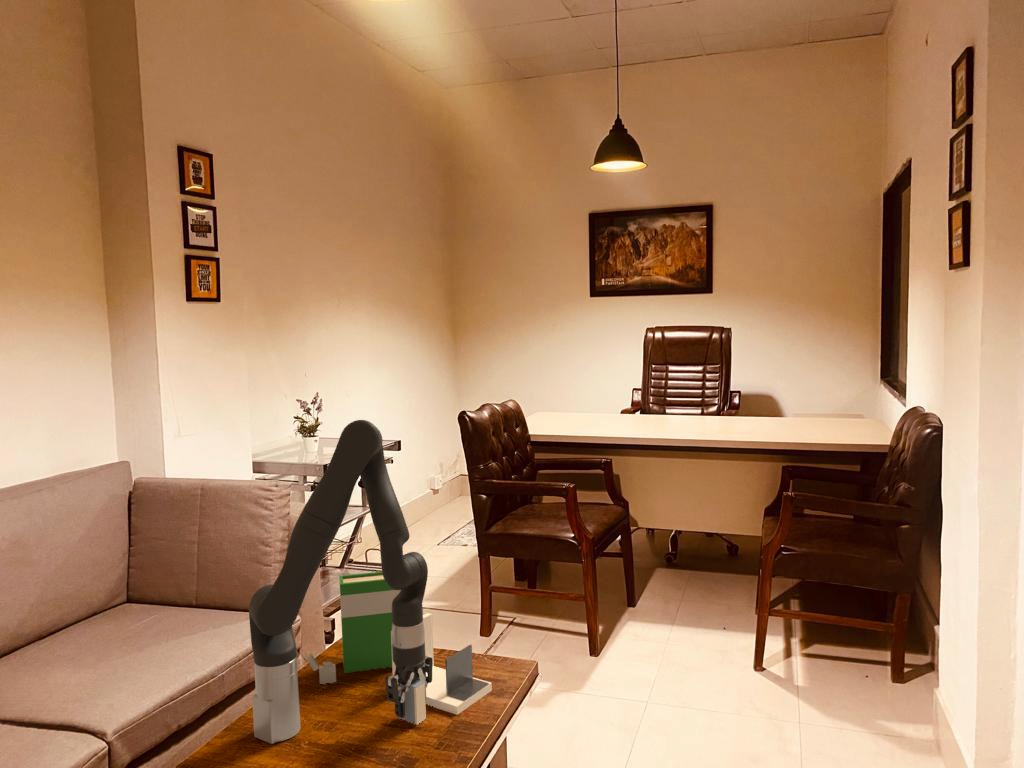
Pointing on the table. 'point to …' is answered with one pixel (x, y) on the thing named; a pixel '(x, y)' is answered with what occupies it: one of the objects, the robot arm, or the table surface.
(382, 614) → the hardback book
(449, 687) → the bookend
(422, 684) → the small book
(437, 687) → the shelf
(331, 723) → the table surface
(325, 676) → the lighter
